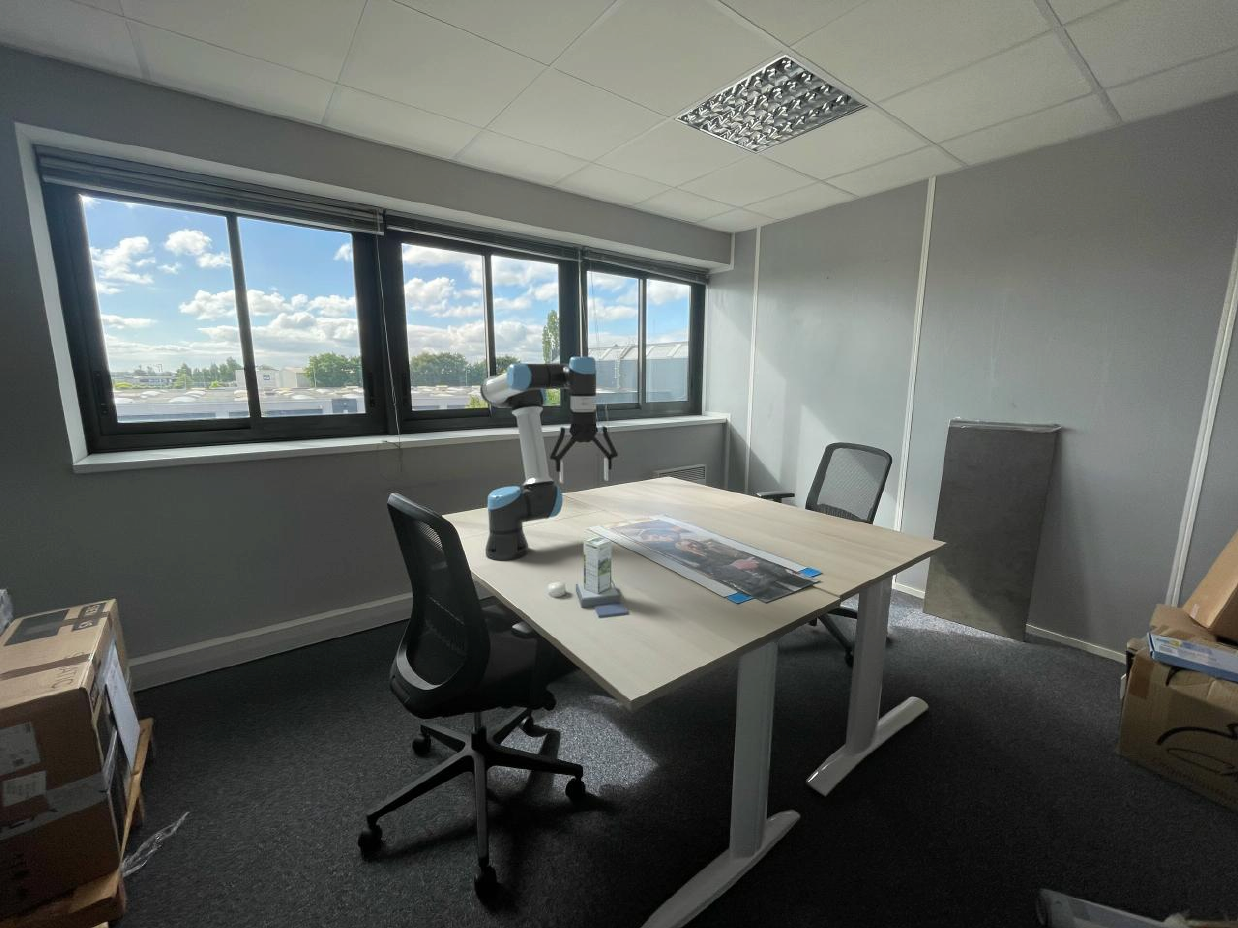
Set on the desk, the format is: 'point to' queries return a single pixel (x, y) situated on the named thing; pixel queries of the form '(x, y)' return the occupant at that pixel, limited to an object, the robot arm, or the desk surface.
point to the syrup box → (597, 564)
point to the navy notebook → (611, 610)
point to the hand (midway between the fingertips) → (584, 481)
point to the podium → (597, 596)
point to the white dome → (556, 589)
